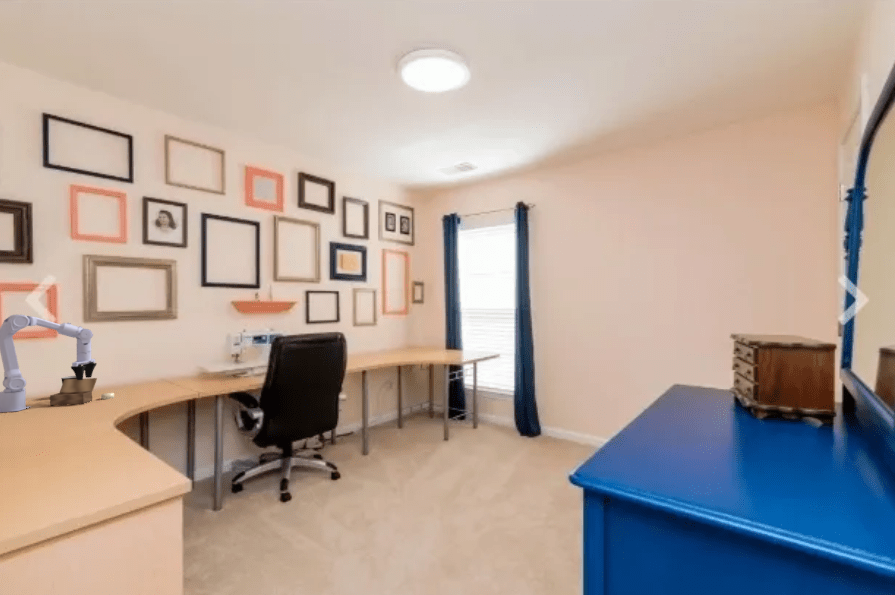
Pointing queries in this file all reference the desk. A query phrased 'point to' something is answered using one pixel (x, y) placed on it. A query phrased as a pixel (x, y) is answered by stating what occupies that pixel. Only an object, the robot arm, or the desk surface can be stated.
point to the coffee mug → (68, 378)
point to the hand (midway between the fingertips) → (84, 378)
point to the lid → (78, 385)
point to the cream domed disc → (107, 396)
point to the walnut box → (71, 398)
